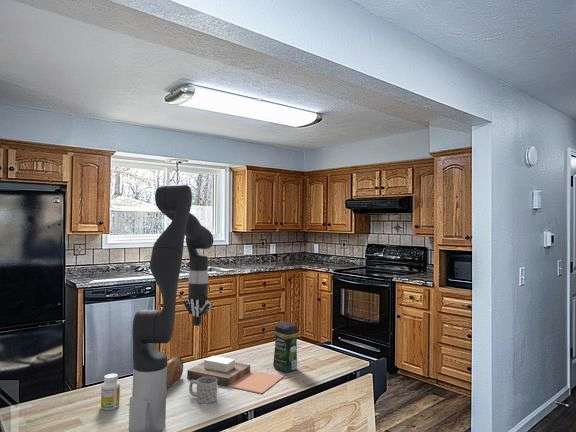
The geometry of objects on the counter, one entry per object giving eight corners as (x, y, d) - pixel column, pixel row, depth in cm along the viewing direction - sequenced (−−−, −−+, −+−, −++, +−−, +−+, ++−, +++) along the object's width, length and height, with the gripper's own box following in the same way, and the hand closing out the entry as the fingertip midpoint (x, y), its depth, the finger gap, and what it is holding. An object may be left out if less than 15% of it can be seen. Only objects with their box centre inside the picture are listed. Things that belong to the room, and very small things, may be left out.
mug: (220, 398, 143) (220, 378, 143) (210, 406, 137) (210, 385, 137) (194, 393, 147) (195, 373, 147) (183, 400, 140) (184, 380, 140)
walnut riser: (228, 386, 153) (228, 378, 153) (187, 378, 160) (187, 370, 160) (250, 372, 167) (250, 365, 168) (211, 365, 175) (211, 358, 175)
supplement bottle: (113, 401, 138) (114, 371, 138) (122, 406, 135) (123, 375, 135) (97, 406, 134) (98, 375, 134) (106, 412, 131) (107, 380, 131)
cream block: (226, 372, 159) (226, 364, 159) (204, 367, 163) (204, 359, 163) (234, 367, 165) (235, 359, 165) (213, 363, 169) (213, 355, 169)
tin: (164, 392, 147) (165, 367, 147) (156, 391, 148) (156, 366, 148) (183, 376, 162) (184, 354, 162) (176, 375, 162) (176, 353, 162)
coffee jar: (269, 367, 174) (271, 322, 174) (283, 363, 180) (284, 319, 180) (286, 374, 167) (288, 326, 167) (300, 369, 173) (301, 323, 173)
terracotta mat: (261, 394, 147) (261, 392, 147) (228, 386, 153) (228, 385, 153) (283, 377, 164) (283, 376, 164) (252, 371, 169) (252, 370, 169)
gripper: (178, 281, 168) (177, 325, 168) (206, 284, 163) (205, 329, 162) (190, 279, 175) (189, 321, 175) (217, 281, 169) (216, 325, 169)
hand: (197, 325), depth 169 cm, fingers closed
